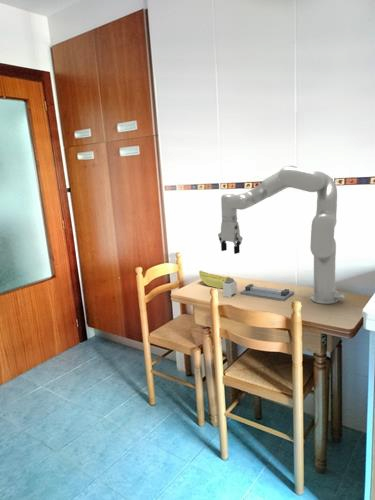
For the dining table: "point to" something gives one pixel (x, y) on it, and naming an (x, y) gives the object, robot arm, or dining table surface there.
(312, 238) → the robot arm
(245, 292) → the mounting plate
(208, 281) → the yellow-green curved piece
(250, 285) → the din rail
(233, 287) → the block
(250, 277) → the dining table surface
